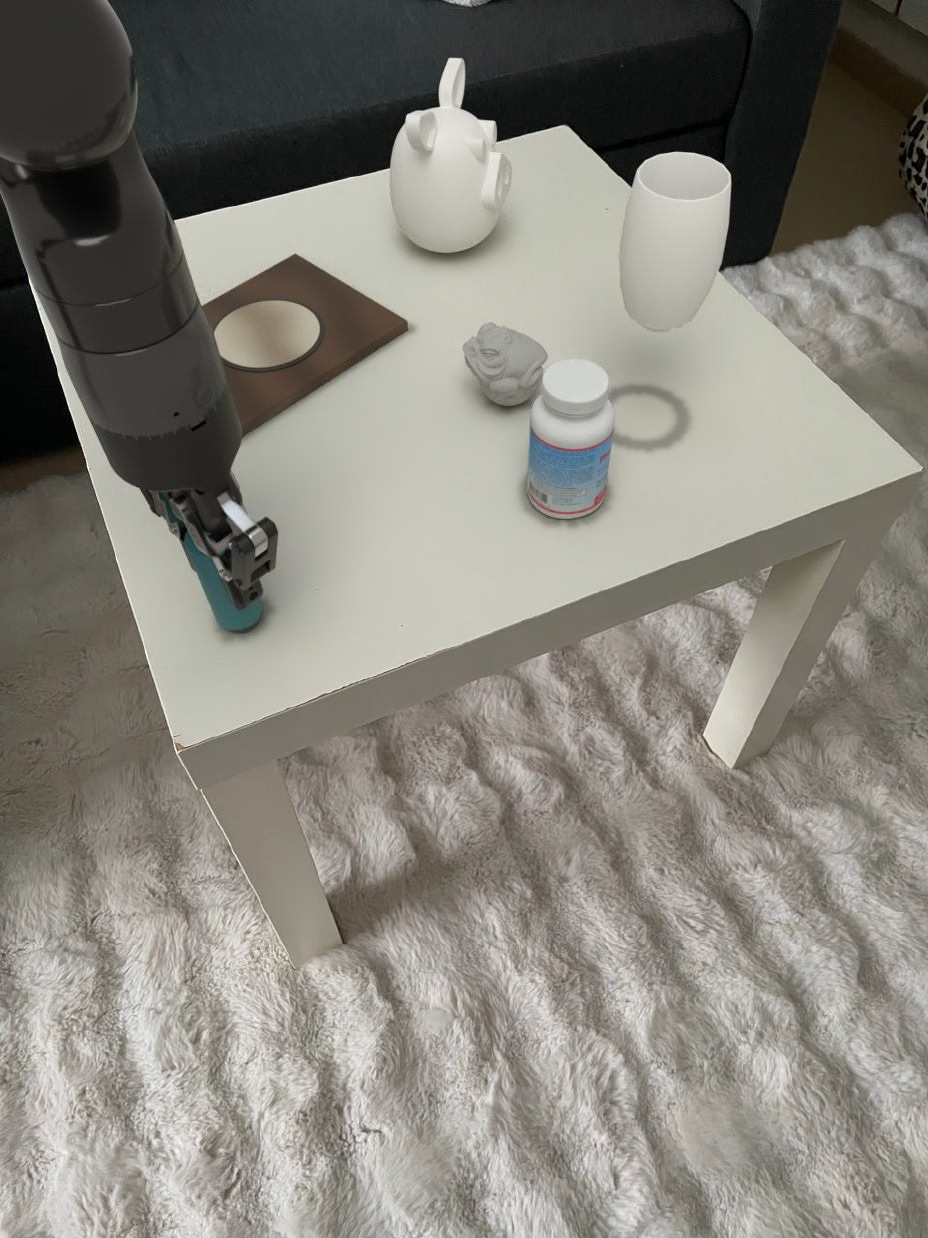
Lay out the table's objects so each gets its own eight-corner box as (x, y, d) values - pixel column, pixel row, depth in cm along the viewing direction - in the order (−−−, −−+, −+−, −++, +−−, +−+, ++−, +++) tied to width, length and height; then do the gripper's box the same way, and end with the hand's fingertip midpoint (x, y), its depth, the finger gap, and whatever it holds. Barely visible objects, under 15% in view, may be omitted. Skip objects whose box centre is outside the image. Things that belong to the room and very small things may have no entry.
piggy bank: (512, 276, 89) (515, 117, 77) (391, 277, 89) (376, 120, 77) (509, 205, 96) (512, 50, 84) (398, 207, 97) (384, 53, 85)
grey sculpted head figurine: (461, 378, 80) (459, 310, 75) (540, 372, 81) (544, 303, 75) (467, 426, 77) (465, 358, 71) (550, 419, 77) (555, 351, 71)
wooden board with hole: (235, 441, 77) (232, 430, 76) (127, 357, 83) (123, 346, 82) (408, 329, 85) (407, 318, 84) (297, 261, 91) (295, 250, 90)
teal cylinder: (237, 646, 64) (205, 565, 57) (208, 619, 66) (173, 537, 58) (275, 618, 66) (248, 535, 58) (246, 592, 67) (216, 508, 60)
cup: (626, 458, 74) (666, 216, 57) (582, 404, 78) (607, 163, 61) (702, 430, 76) (762, 188, 59) (655, 378, 80) (699, 137, 63)
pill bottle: (613, 516, 71) (631, 403, 62) (535, 527, 70) (542, 414, 61) (593, 461, 74) (608, 346, 65) (519, 471, 74) (523, 357, 65)
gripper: (20, 358, 50) (123, 559, 64) (173, 486, 44) (249, 678, 58) (136, 295, 53) (210, 501, 67) (294, 408, 47) (339, 608, 61)
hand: (228, 582), depth 62 cm, fingers open, 3 cm apart
